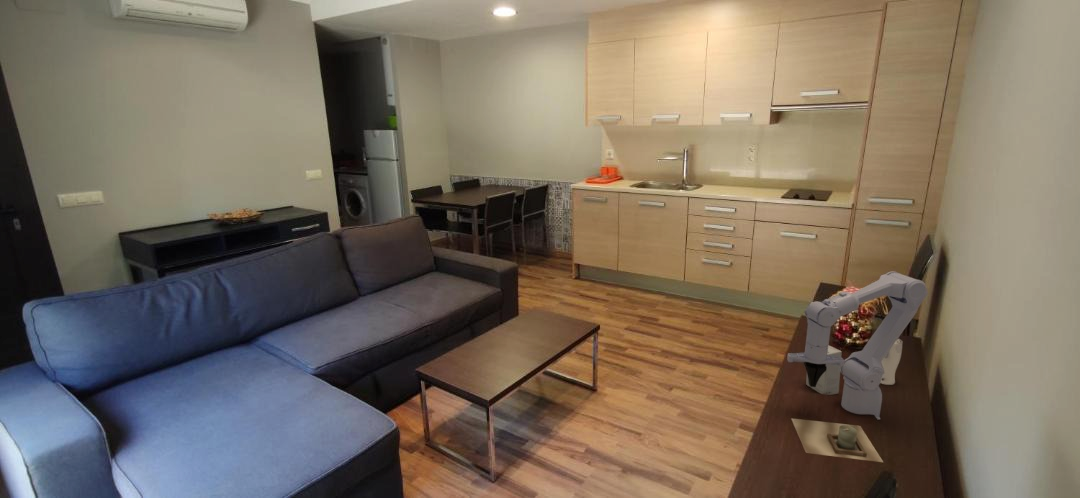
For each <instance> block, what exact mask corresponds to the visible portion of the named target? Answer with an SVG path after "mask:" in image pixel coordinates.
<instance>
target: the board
mask: <svg viewBox="0 0 1080 498" xmlns="http://www.w3.org/2000/svg"><path fill="white" fill-rule="evenodd" d="M790 420H791V422H792V424H793V427H794V428H795V431H796V433H797V436H798V437H799V440H800V442H801V445H802V448H803V450H804V452H805V453H806V454H812V455H820V456H828V457H829V456H830V457H836V458H845V459H853V460H859V461H860V460H861V461H868V462H877V463H884V460H883V459H882V457H881V456H880V454H879V453H878V451H877V450H876V449H875V447H874V445H873V444H872V442H871V440H870V438H868V436H867V434H866V432H865V431H864V430H863V428H862V426H861V425H856V424H855V425H854V424H845V423H838V422H837V423H836V422H829V421H818V420H812V419H811V420H809V419H801V418H790ZM841 425H847V426H851V427H853V428H855V429H856V430H857V436H856V443H855V449H854V450H848V449H842V448H840V447H839V446H838V445H837V441H838V434H839V427H840V426H841Z"/></svg>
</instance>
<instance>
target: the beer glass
mask: <svg viewBox="0 0 1080 498" xmlns="http://www.w3.org/2000/svg"><path fill="white" fill-rule="evenodd" d="M903 342H904V341H903V340H902V339H900V338H898V339H897V340H896V342H895V343H894V345H893V346H892V347H891V349H890V350H889V352H888V353H887V354H886V356H885V357H884V359H883V360H882V361H881V363H882V365H883V368H884V371H885V373H884V374H883V376H882V378H881V382H880V385H881V384H882V385H886V386H893V385H895V384H896V380H895V378H896V377H895V376H896V375H895V374H896V371H897V369H898V366H899V363H900V361H901V358H902V352H903Z"/></svg>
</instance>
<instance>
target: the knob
mask: <svg viewBox="0 0 1080 498" xmlns="http://www.w3.org/2000/svg"><path fill="white" fill-rule="evenodd" d="M856 436H857V430H856V429H855V428H853V427H851V426H847V425H841V426H840V427H839V434H838V441H837V445H838V446H839V447H840V448H842V449H848V450H854V449H855V443H856Z"/></svg>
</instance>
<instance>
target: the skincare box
mask: <svg viewBox="0 0 1080 498" xmlns="http://www.w3.org/2000/svg"><path fill="white" fill-rule="evenodd" d="M842 352H843V351H841V350H839V349H837V348H836V347H833V346H831V345H828V353H827V355H829V356H834V357H841V358H842ZM826 367H827V369H826V371H825V372H824V373H823V374H822V376H821V377H820V378H819V380H818V382H817V384H816V387H810V385H809V381H808V374H807V373H806V383H805V385H807V387H809V388H811V389H812V390H814V391H816V392H817V393H819V394H821V395H828V396H829V395H830V396H831V395H838V394H839V393H840V381H841V372H840V366H839V365H831V364H826Z"/></svg>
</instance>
